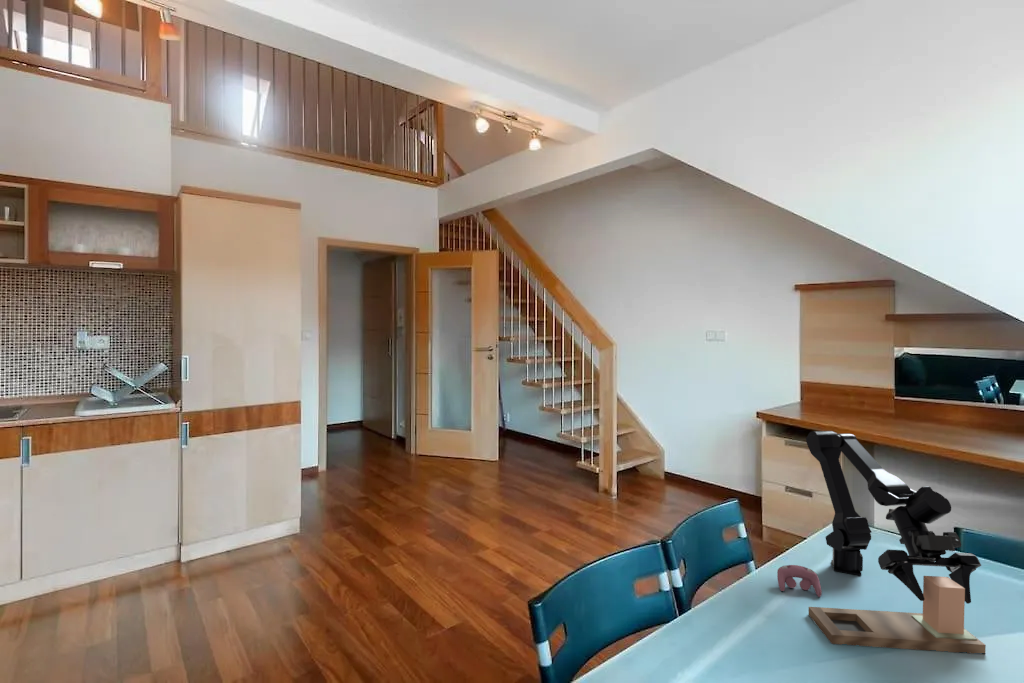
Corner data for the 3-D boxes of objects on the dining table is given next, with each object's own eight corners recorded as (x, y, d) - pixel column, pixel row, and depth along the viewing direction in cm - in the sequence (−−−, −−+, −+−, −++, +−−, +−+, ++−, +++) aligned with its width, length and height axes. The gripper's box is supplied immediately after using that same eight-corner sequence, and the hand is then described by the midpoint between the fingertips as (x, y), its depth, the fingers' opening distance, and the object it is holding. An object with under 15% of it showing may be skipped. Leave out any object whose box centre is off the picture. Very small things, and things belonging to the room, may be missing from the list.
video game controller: (819, 597, 131) (816, 568, 134) (823, 597, 127) (820, 567, 130) (776, 591, 134) (774, 562, 137) (779, 591, 130) (777, 562, 133)
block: (938, 632, 109) (939, 587, 109) (922, 619, 114) (923, 575, 114) (963, 634, 109) (964, 588, 109) (946, 620, 114) (947, 576, 113)
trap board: (831, 643, 109) (831, 633, 109) (808, 614, 120) (808, 605, 120) (985, 654, 106) (985, 643, 106) (946, 623, 117) (947, 613, 117)
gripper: (886, 515, 117) (917, 587, 106) (975, 518, 114) (1016, 592, 104) (866, 534, 125) (893, 603, 114) (949, 538, 122) (984, 608, 112)
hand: (945, 601), depth 111 cm, fingers open, 9 cm apart
